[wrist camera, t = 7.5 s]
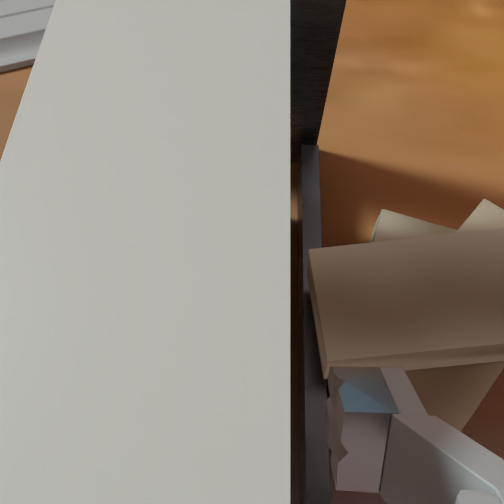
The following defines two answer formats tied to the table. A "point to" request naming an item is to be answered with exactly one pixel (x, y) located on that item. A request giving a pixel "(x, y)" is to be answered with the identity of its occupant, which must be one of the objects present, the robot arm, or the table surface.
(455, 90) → the table surface
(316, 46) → the rack
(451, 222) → the table surface
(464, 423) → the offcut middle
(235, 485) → the off-white wooden block
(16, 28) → the baseboard molding
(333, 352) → the offcut top
